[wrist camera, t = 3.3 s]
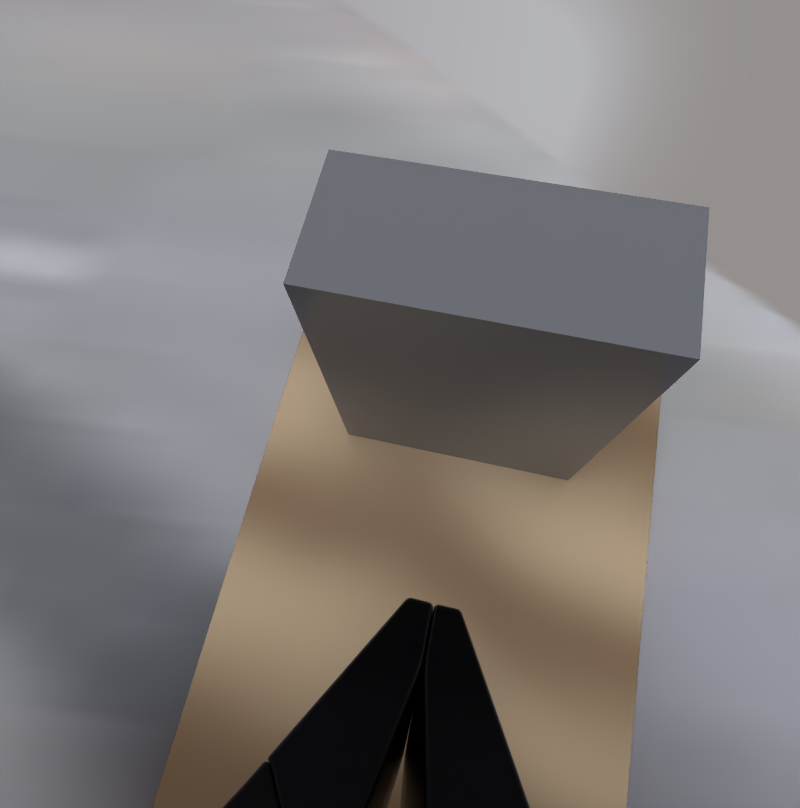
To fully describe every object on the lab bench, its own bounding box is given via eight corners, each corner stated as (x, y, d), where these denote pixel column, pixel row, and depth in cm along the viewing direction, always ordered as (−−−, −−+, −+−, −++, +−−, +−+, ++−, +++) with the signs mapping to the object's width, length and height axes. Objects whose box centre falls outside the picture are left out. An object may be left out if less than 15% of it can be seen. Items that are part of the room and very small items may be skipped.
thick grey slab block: (568, 480, 18) (700, 359, 9) (348, 434, 18) (283, 283, 10) (580, 387, 19) (709, 201, 10) (371, 347, 19) (330, 144, 11)
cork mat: (607, 961, 14) (612, 970, 14) (152, 823, 15) (145, 828, 15) (658, 370, 19) (663, 365, 19) (314, 306, 21) (312, 300, 20)
